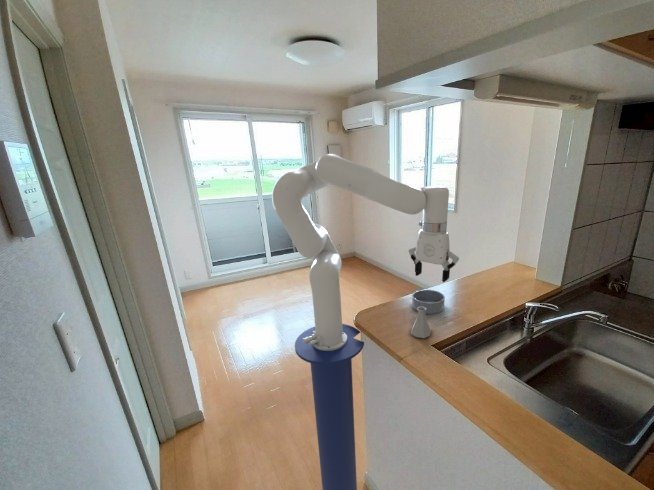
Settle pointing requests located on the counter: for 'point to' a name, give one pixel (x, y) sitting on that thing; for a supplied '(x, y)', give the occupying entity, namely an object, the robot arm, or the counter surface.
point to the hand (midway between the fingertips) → (431, 277)
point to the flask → (421, 324)
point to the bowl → (428, 301)
